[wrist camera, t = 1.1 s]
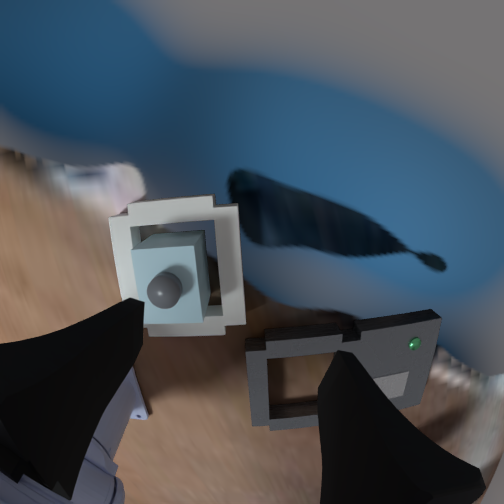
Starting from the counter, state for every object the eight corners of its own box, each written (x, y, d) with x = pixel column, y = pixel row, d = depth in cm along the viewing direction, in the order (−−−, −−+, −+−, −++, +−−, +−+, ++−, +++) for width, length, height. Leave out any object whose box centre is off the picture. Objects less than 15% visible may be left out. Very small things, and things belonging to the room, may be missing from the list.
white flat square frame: (137, 325, 25) (130, 336, 23) (117, 203, 22) (107, 206, 20) (246, 321, 25) (246, 333, 23) (237, 192, 22) (236, 194, 20)
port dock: (252, 417, 27) (252, 433, 25) (244, 330, 25) (244, 344, 23) (412, 393, 28) (420, 405, 25) (431, 308, 25) (442, 318, 23)
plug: (161, 295, 24) (139, 331, 18) (153, 233, 23) (124, 254, 17) (210, 293, 24) (201, 330, 18) (204, 229, 23) (191, 249, 17)
